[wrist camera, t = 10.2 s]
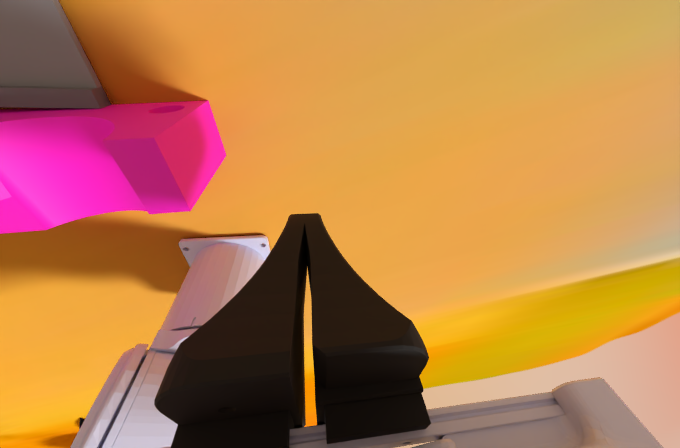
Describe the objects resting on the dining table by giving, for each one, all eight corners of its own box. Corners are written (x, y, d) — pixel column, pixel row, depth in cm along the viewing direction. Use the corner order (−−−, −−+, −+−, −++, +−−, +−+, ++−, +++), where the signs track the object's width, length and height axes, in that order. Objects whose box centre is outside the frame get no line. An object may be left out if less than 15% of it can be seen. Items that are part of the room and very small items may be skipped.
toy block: (37, 197, 18) (-86, 272, 13) (-46, 110, 15) (-279, 161, 9) (236, 183, 20) (208, 245, 14) (209, 99, 16) (154, 137, 10)
